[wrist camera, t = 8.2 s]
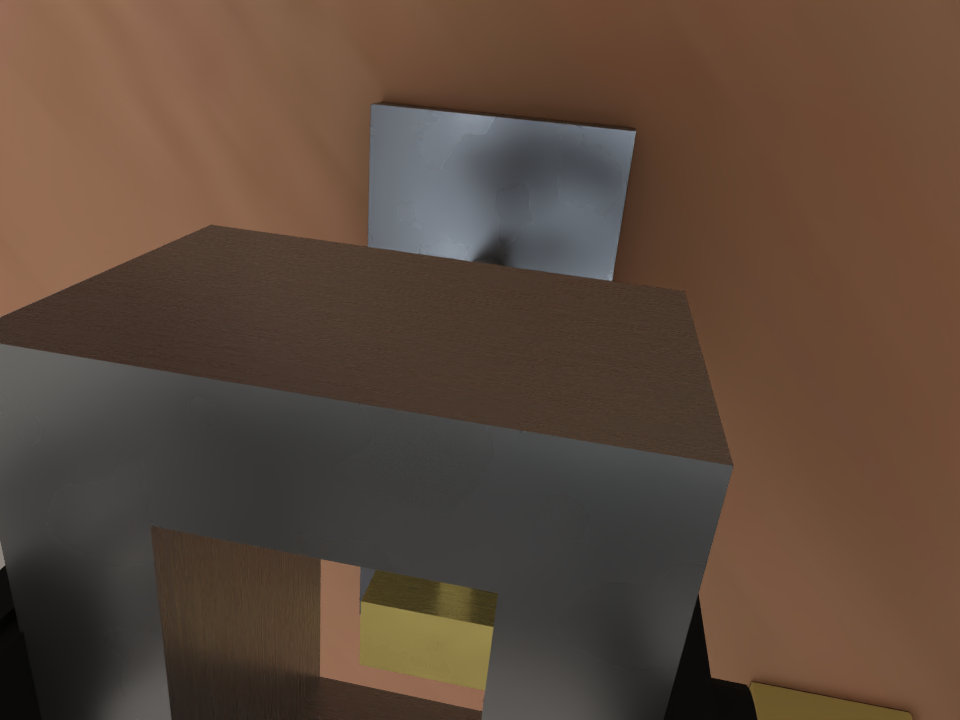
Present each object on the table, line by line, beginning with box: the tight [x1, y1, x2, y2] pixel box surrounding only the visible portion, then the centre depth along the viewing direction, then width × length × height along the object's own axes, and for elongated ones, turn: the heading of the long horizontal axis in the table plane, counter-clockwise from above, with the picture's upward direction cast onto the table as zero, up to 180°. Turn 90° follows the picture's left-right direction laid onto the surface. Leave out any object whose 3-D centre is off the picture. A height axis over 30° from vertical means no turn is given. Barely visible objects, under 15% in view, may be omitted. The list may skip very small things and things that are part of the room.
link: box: [0, 225, 733, 720], centre depth 9 cm, size 6×9×4 cm, turn 174°
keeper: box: [360, 102, 636, 690], centre depth 24 cm, size 8×20×5 cm, turn 175°
